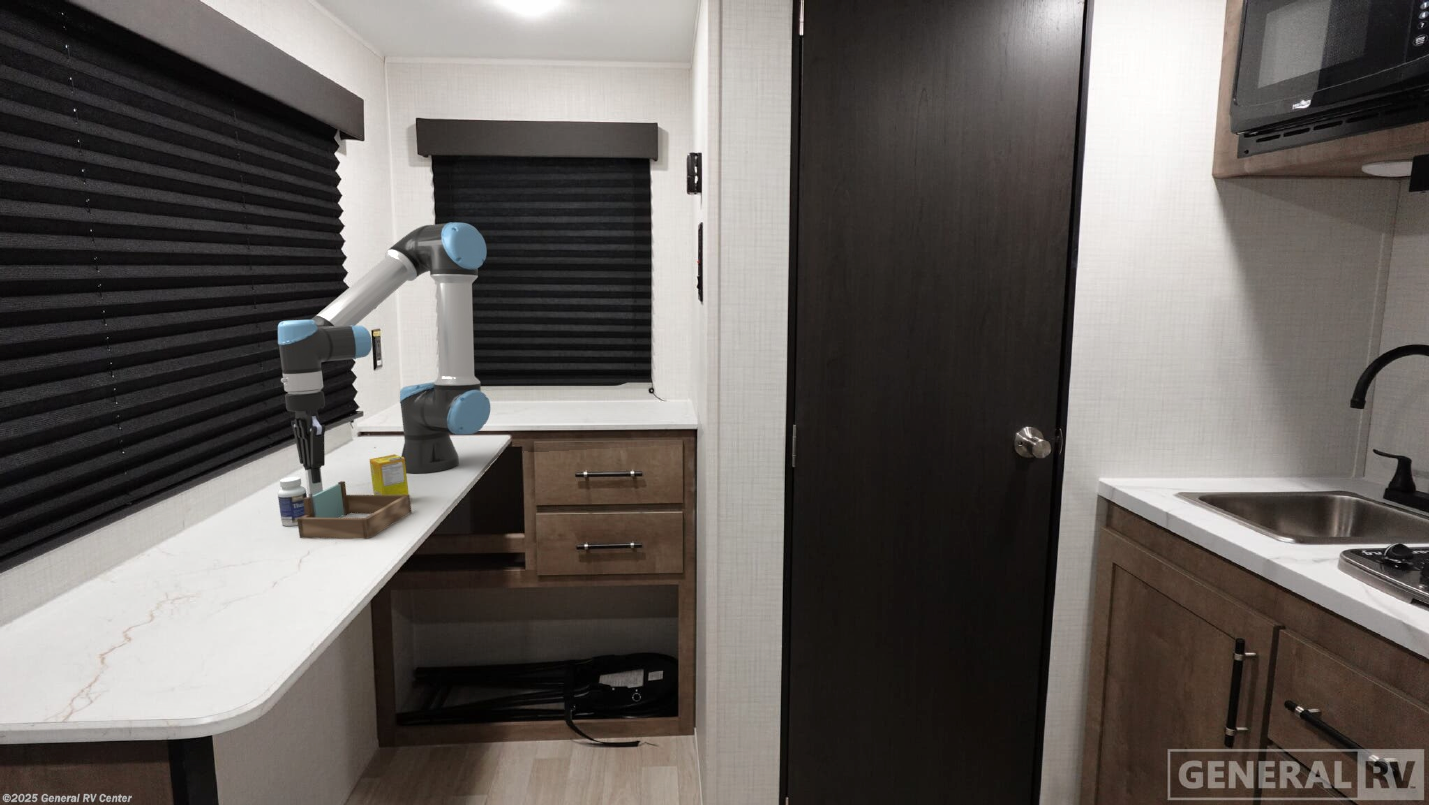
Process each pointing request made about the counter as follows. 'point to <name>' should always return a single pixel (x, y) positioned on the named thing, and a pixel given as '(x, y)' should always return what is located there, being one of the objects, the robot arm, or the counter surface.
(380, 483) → the supplement box
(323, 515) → the teal rectangular panel
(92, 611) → the counter surface
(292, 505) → the pill bottle
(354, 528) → the wooden square frame
